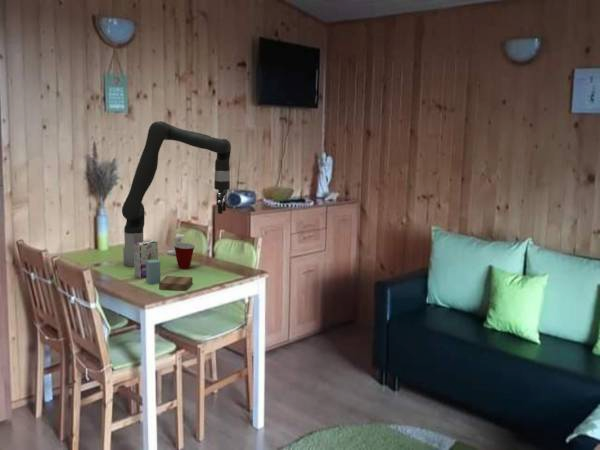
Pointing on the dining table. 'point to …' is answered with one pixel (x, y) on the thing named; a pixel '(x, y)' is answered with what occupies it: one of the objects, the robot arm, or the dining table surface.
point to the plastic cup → (184, 254)
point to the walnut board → (175, 283)
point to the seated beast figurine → (177, 240)
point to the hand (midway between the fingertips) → (221, 212)
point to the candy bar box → (144, 256)
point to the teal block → (153, 271)
